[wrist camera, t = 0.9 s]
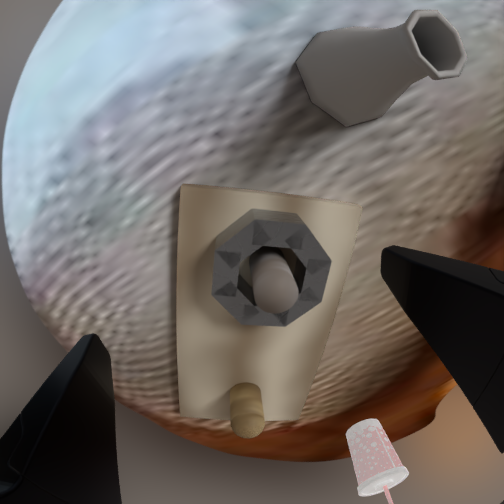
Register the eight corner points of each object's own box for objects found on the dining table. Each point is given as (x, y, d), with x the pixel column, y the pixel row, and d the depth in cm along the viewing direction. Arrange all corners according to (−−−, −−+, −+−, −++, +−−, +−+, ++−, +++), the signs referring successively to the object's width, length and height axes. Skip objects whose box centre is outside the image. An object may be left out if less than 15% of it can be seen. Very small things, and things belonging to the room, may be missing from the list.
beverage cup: (331, 443, 32) (358, 533, 19) (354, 415, 30) (391, 514, 17) (369, 440, 33) (400, 521, 20) (393, 413, 31) (433, 500, 18)
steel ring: (326, 217, 20) (339, 228, 17) (306, 308, 22) (314, 327, 20) (219, 205, 19) (217, 215, 16) (211, 302, 21) (209, 322, 19)
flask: (342, 145, 19) (432, 162, 10) (274, 60, 16) (317, -1, 7) (411, 93, 17) (512, 87, 8) (353, 13, 15) (430, -44, 6)
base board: (357, 204, 20) (398, 230, 15) (296, 412, 28) (307, 457, 23) (183, 183, 19) (165, 203, 14) (181, 409, 27) (175, 456, 22)
